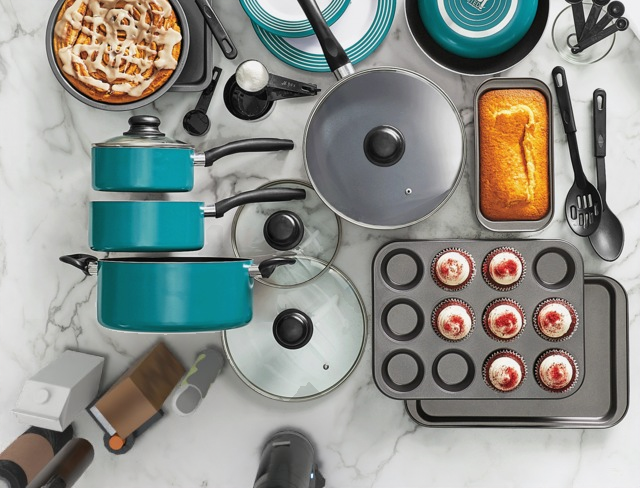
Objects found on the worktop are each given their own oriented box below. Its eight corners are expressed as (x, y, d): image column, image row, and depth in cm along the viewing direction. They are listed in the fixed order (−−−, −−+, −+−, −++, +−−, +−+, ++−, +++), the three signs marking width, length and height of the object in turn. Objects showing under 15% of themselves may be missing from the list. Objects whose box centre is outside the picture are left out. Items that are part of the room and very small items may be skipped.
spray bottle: (191, 361, 122) (160, 406, 102) (210, 342, 122) (182, 383, 102) (211, 380, 122) (183, 429, 102) (229, 361, 122) (205, 406, 102)
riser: (186, 370, 122) (157, 411, 104) (156, 395, 122) (122, 440, 104) (161, 340, 122) (128, 376, 104) (132, 365, 122) (93, 405, 104)
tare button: (128, 439, 120) (125, 443, 118) (118, 448, 120) (115, 452, 118) (119, 429, 120) (116, 433, 118) (109, 437, 120) (106, 441, 118)
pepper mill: (101, 455, 103) (54, 514, 87) (77, 475, 103) (25, 537, 87) (81, 430, 103) (30, 485, 87) (57, 450, 103) (1, 509, 87)
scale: (167, 416, 122) (162, 423, 119) (122, 452, 123) (116, 460, 120) (129, 370, 122) (124, 376, 119) (84, 407, 123) (78, 414, 120)
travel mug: (27, 420, 123) (-37, 476, 103) (66, 406, 123) (10, 459, 103) (42, 459, 123) (-19, 523, 103) (81, 445, 123) (28, 506, 103)
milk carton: (97, 395, 122) (51, 443, 103) (59, 387, 123) (6, 434, 104) (105, 357, 122) (60, 398, 103) (67, 349, 122) (14, 389, 103)
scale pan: (139, 412, 118) (137, 414, 118) (112, 434, 119) (111, 436, 118) (117, 386, 118) (115, 388, 118) (91, 407, 118) (89, 409, 118)
